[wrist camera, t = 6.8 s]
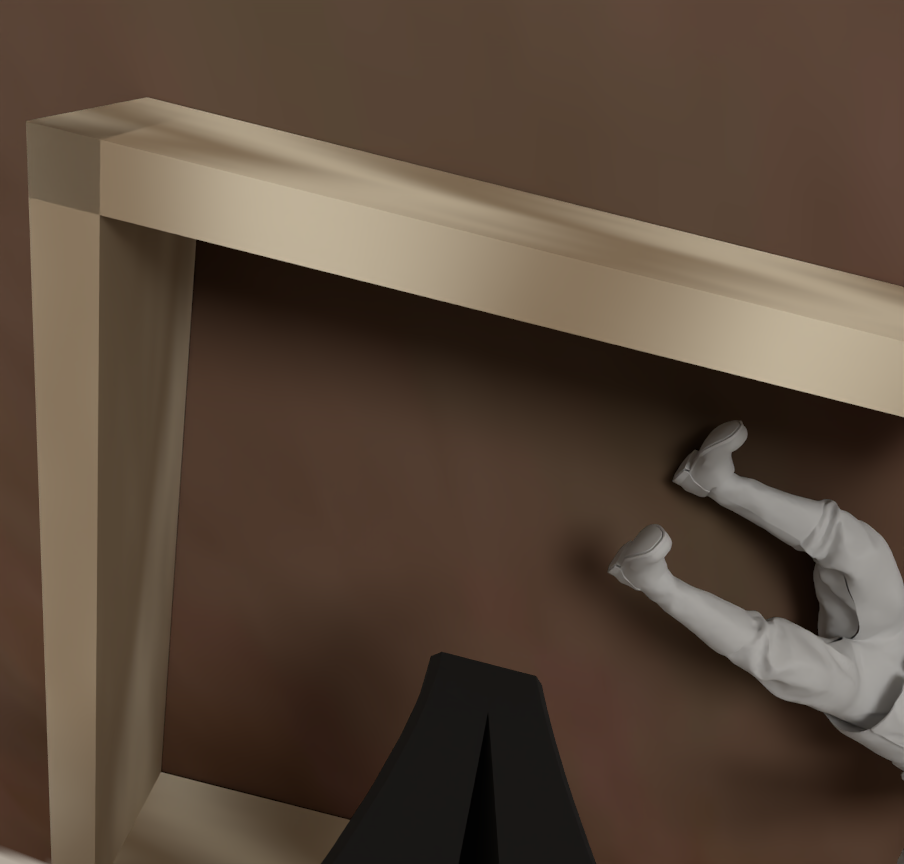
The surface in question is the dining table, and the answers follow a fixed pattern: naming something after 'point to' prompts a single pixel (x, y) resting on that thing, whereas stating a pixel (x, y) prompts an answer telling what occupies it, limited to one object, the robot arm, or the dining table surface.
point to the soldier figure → (779, 640)
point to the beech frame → (346, 254)
